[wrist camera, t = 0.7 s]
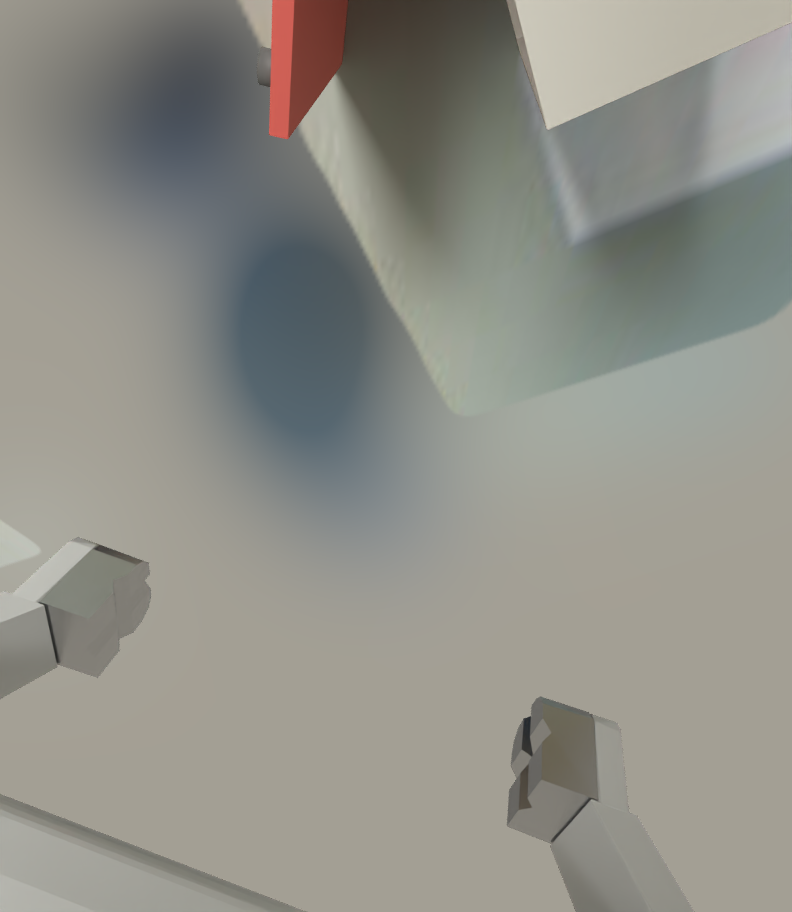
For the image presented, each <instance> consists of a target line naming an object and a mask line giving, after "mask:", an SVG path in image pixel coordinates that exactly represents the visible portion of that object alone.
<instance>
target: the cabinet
mask: <svg viewBox="0 0 792 912" xmlns="http://www.w3.org/2000/svg"><path fill="white" fill-rule="evenodd" d="M506 1H507V5H508V9H509V13H510V17H511V20H512V24H513V28H514V32H515V36H516V40H517V44H518V48H519V52H520V55H521V57H522V60H523V63H524V66H525V69H526V72H527V74H528V77H529V80H530V83H531V86H532V89H533V91H534V94H535V97H536V100H537V103H538V106H539V108H540V111H541V114H542V117H543V120H544V123H545V125H546V128H547V130H549V129H551V128H554V127H556V126H558V125H560V124H563V123H565V122H567V121H569V120H572V119H574V118H576V117H579V116H581V115H583V114H585V113H588V112H590V111H592V110H594V109H597V108H599V107H601V106H603V105H606V104H608V103H610V102H613V101H615V100H617V99H619V98H622V97H624V96H626V95H628V94H631V93H633V92H635V91H637V90H640V89H642V88H644V87H647V86H649V85H651V84H653V83H656V82H658V81H660V80H662V79H665V78H667V77H669V76H672V75H674V74H676V73H678V72H681V71H683V70H685V69H687V68H690V67H692V66H694V65H696V64H699V63H701V62H703V61H706V60H708V59H710V58H712V57H715V56H717V55H719V54H721V53H724V52H726V51H728V50H730V49H733V48H735V47H737V46H740V45H742V44H744V43H746V42H749V41H751V40H753V39H755V38H758V37H760V36H762V35H765V34H767V33H769V32H771V31H774V30H776V29H778V28H780V27H783V26H785V25H787V24H789V23H792V0H506Z"/></svg>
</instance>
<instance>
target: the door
mask: <svg viewBox="0 0 792 912" xmlns="http://www.w3.org/2000/svg"><path fill="white" fill-rule="evenodd" d="M347 8H348V0H273V4H272V44H271V49H270V48H266V47H261V48H260V51H259V55H258V61H257V78H258V83H259V84H260V85H264V86H268V87H270V126H269V135H272V136H276V137H280V138H284V139H288V138H289V137H290V136H291V134H292V133H293V132H294V130H295V129H296V127H297V126H298V125H299V123H300V122H301V120H302V119H303V118H304V116H305V115H306V114H307V112H308V111H309V109H310V108H311V107H312V105H313V104H314V102H315V101H316V100H317V98H318V97H319V95H320V94H321V93H322V91H323V90H324V88H325V87H326V86H327V84H328V83H329V81H330V80H331V79H332V77H333V76H334V75H335V73H336V72H337V70H338V69H339V68H340V66H341V65H342V59H343V49H344V38H345V28H346V18H347Z"/></svg>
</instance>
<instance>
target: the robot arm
mask: <svg viewBox="0 0 792 912" xmlns="http://www.w3.org/2000/svg"><path fill="white" fill-rule="evenodd" d="M149 574H150V570H149V563H148V562H145V561H142V560H140V559H137V558H134V557H132V556H129V555H126V554H124V553H121V552H118V551H115V550H113V549H110V548H107V547H104V546H102V545H99V544H97V543H93V542H91V541H88V540H85V539H82V538H79V537H77V538H75V539H72V540H71V541H68V542H67V543H66V544H65V545H64V546H63V547H62V548H61V549H60V550H59V551H57V552H56V553H55V554H54V555H53V556H52V557H51V558H50V559H49V560H48V561H47V562H46V563H45V564H44V565H42V566H41V567H40V568H39V569H38V570H37V571H36V572H35V573H34V574H32V575H31V576H30V577H29V578H28V579H27V580H26V581H25V582H24V583H23V584H22V585H21V586H20V587H18V588H17V589H16V590H15V591H14V592H13V593H10V592H7V591H4V592H1V593H0V699H1V698H3V697H5V696H7V695H8V694H10V693H12V692H14V691H15V690H17V689H19V688H21V687H23V686H24V685H26V684H28V683H30V682H32V681H33V680H35V679H37V678H39V677H40V676H42V675H44V674H46V673H48V672H49V671H51V670H53V669H55V668H57V664H58V665H61V666H64V667H67V668H70V669H73V670H76V671H79V672H82V673H85V674H88V675H91V676H94V677H97V678H98V677H99V676H100V674H101V673H102V672H103V671H104V669H105V668H106V667H107V665H108V664H109V663H110V662H111V660H112V659H113V658H114V656H115V655H116V654H117V653H118V652H119V639H120V638H122V637H124V636H127V635H129V634H131V633H133V632H134V631H135V630H136V628H137V627H138V626H139V624H140V623H141V622H142V620H143V618H144V616H145V614H146V612H147V610H148V607H149V603H150V599H151V589H150V587H149V586H148V585H147V583H146V582H145V579H146V578H147V577H148V575H149ZM511 759H512V760H511V768H512V770H513V772H514V774H515V776H516V778H517V779H516V780H515V782H514V784H513V785H512V786H511V788H510V790H509V802H508V817H507V826H508V827H510V828H513V829H515V830H518V831H521V832H523V833H526V834H528V835H531V836H533V837H536V838H538V839H541V840H543V841H546V842H548V843H551V845H550V847H551V850H552V852H553V855H554V857H555V860H556V862H557V865H558V868H559V870H560V873H561V875H562V878H563V880H564V883H565V886H566V888H567V890H568V893H569V895H570V898H571V901H572V903H573V906H574V909H575V911H576V912H694V910H693V909H692V907H691V905H690V904H689V902H688V900H687V899H686V897H685V895H684V893H683V892H682V890H681V888H680V887H679V885H678V883H677V882H676V880H675V878H674V877H673V875H672V873H671V872H670V870H669V868H668V867H667V865H666V863H665V862H664V860H663V858H662V857H661V855H660V853H659V851H658V850H657V848H656V846H655V845H654V843H653V841H652V840H651V838H650V836H649V835H648V833H647V831H646V830H645V828H644V826H643V825H642V823H641V822H640V820H639V818H638V816H636V815H634V814H632V813H629V806H628V796H627V786H626V777H625V767H624V757H623V748H622V739H621V729H620V727H619V725H618V724H617V723H616V722H614V721H611V720H608V719H605V718H602V717H598V716H596V715H593V714H589V712H586V711H583V710H580V709H577V708H574V707H571V706H568V705H565V704H562V703H559V702H556V701H553V700H549V699H546V698H543V697H539V698H537V699H536V700H535V702H534V703H533V704H532V707H531V716H530V717H527V718H524V719H523V721H522V723H521V724H520V726H519V728H518V731H517V734H516V737H515V740H514V744H513V750H512V758H511ZM0 912H306V911H303V910H301V909H298V908H295V907H293V906H290V905H288V904H285V903H283V902H280V901H277V900H275V899H272V898H270V897H267V896H264V895H262V894H259V893H257V892H254V891H251V890H249V889H246V888H244V887H241V886H238V885H236V884H233V883H230V882H228V881H225V880H223V879H220V878H218V877H215V876H212V875H210V874H207V873H205V872H202V871H200V870H197V869H194V868H192V867H189V866H187V865H184V864H181V863H179V862H176V861H174V860H171V859H168V858H166V857H163V856H161V855H158V854H155V853H153V852H150V851H148V850H145V849H142V848H140V847H137V846H134V845H132V844H129V843H127V842H124V841H122V840H119V839H116V838H114V837H111V836H109V835H106V834H103V833H101V832H98V831H95V830H93V829H90V828H88V827H85V826H82V825H80V824H77V823H75V822H72V821H69V820H67V819H64V818H61V817H59V816H56V815H53V814H51V813H49V812H46V811H43V810H41V809H38V808H36V807H33V806H30V805H28V804H25V803H23V802H20V801H17V800H15V799H12V798H9V797H7V796H4V795H2V794H0Z"/></svg>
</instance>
